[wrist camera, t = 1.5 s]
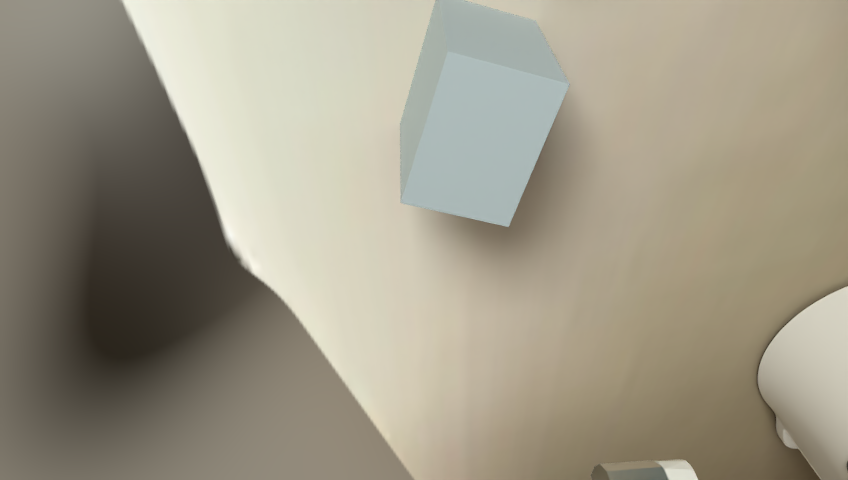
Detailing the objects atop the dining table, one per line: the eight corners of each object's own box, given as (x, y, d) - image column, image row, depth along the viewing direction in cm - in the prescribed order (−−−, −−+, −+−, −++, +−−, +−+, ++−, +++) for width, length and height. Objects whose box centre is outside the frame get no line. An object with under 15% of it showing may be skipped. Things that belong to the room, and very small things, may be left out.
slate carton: (535, 20, 33) (569, 84, 26) (488, 144, 37) (508, 227, 30) (437, -8, 32) (447, 51, 25) (400, 122, 36) (400, 203, 29)
